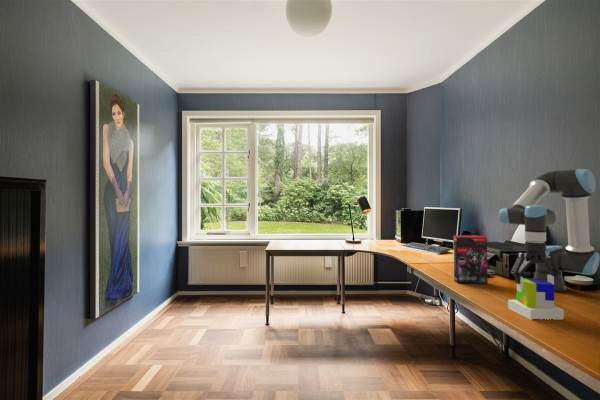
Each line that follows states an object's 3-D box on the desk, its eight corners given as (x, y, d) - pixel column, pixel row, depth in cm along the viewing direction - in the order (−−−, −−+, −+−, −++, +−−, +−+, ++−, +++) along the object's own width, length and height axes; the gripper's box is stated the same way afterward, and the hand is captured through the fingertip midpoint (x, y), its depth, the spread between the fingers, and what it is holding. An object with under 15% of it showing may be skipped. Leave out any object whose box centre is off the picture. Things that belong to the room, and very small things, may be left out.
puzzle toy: (554, 308, 140) (554, 284, 140) (527, 307, 142) (527, 283, 141) (541, 301, 149) (541, 278, 149) (516, 300, 151) (516, 277, 151)
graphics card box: (456, 283, 196) (456, 236, 196) (452, 280, 203) (453, 235, 203) (488, 284, 194) (488, 236, 194) (483, 281, 201) (483, 235, 201)
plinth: (538, 308, 153) (538, 299, 153) (563, 319, 139) (563, 309, 139) (508, 308, 152) (508, 299, 152) (530, 319, 138) (530, 310, 138)
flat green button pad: (465, 270, 234) (465, 263, 234) (495, 274, 222) (495, 267, 222) (458, 274, 220) (458, 267, 220) (489, 279, 208) (490, 271, 208)
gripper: (556, 239, 149) (556, 287, 150) (501, 240, 148) (501, 289, 149) (570, 242, 142) (570, 292, 142) (512, 243, 141) (512, 294, 141)
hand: (535, 291), depth 146 cm, fingers open, 13 cm apart
